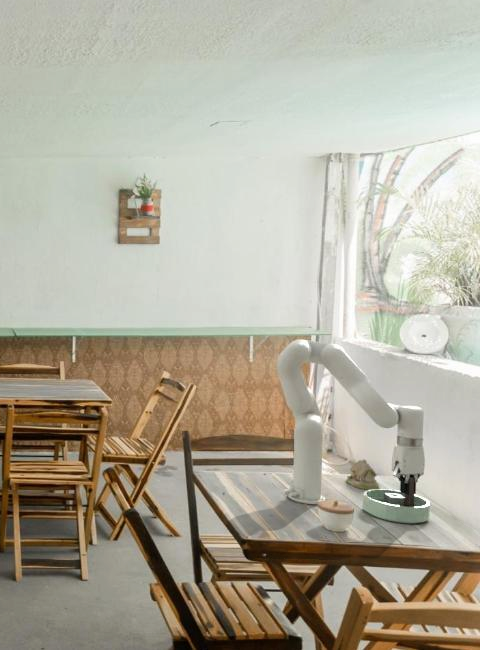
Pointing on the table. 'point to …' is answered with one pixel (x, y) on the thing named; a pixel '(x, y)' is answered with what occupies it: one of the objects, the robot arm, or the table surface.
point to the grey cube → (394, 499)
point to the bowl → (395, 507)
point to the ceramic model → (362, 476)
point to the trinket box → (335, 514)
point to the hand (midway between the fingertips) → (407, 492)
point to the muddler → (410, 494)
